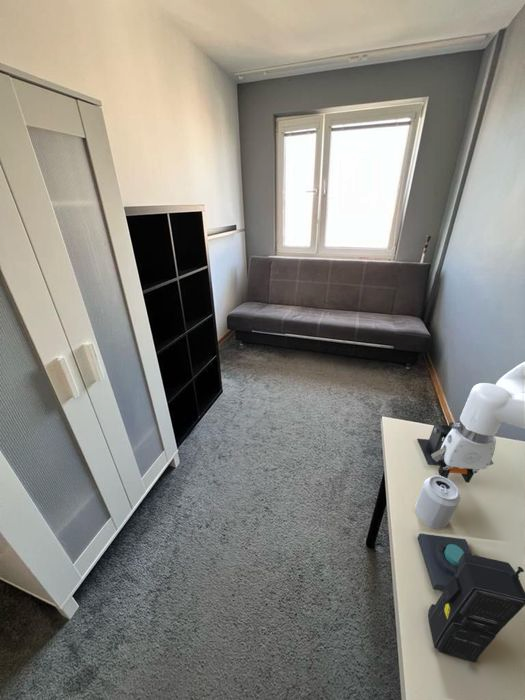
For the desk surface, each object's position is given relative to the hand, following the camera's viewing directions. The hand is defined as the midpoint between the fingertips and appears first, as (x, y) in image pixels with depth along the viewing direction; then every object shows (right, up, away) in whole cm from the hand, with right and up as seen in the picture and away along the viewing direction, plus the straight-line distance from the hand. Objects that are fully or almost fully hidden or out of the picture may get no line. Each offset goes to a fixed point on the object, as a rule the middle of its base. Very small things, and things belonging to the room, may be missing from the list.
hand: (453, 476), depth 78 cm
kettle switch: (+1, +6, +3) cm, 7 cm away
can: (-10, -7, -6) cm, 14 cm away
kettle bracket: (+2, +2, +10) cm, 10 cm away
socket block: (-12, -13, -16) cm, 23 cm away
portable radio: (-19, -18, -25) cm, 36 cm away
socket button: (-12, -9, -18) cm, 23 cm away
